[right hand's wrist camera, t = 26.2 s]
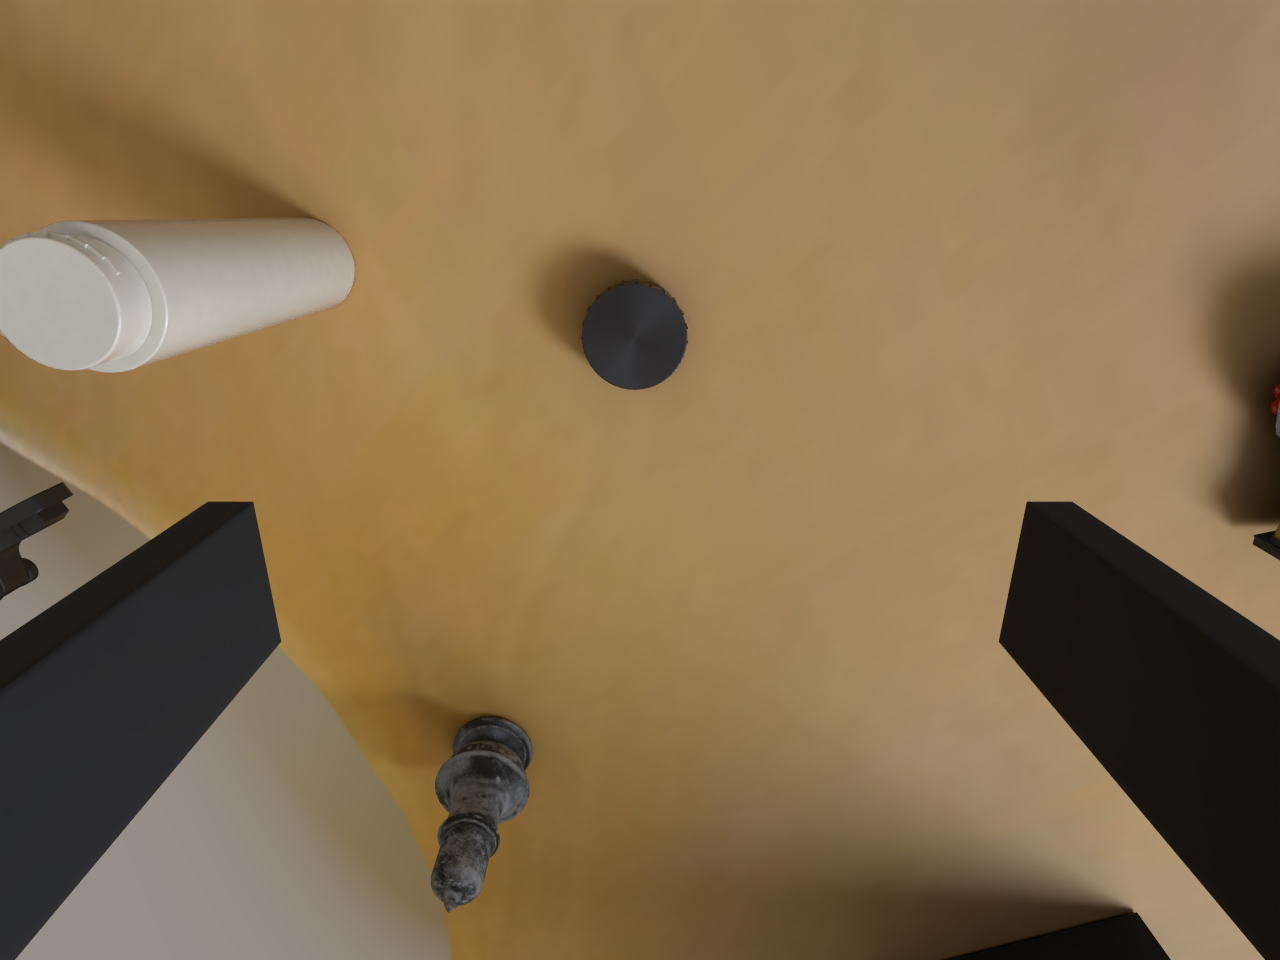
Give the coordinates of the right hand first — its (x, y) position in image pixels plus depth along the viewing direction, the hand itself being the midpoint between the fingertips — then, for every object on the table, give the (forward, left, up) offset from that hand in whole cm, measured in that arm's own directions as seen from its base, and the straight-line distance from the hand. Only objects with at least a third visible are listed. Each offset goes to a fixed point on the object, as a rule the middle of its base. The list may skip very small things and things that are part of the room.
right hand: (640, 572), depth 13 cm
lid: (0, 0, -27) cm, 27 cm away
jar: (+3, -17, -28) cm, 33 cm away
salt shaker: (+30, +1, -28) cm, 41 cm away
